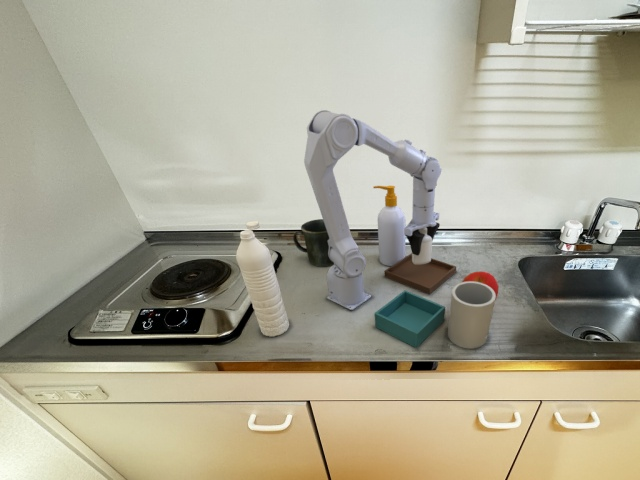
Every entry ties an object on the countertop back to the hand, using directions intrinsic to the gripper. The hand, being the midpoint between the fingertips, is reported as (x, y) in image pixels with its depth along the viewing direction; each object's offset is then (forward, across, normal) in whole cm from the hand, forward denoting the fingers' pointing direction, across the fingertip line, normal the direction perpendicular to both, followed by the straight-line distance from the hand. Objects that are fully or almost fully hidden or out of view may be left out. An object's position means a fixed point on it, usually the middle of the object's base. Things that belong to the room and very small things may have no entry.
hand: (421, 250), depth 92 cm
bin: (+8, -21, -11) cm, 25 cm away
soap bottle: (+8, +2, +13) cm, 16 cm away
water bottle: (+8, -41, +15) cm, 44 cm away
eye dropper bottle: (+4, 0, 0) cm, 4 cm away
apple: (+8, -5, -22) cm, 24 cm away
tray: (+8, 0, 0) cm, 8 cm away
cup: (+8, -16, -24) cm, 30 cm away
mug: (+8, -12, +32) cm, 35 cm away
